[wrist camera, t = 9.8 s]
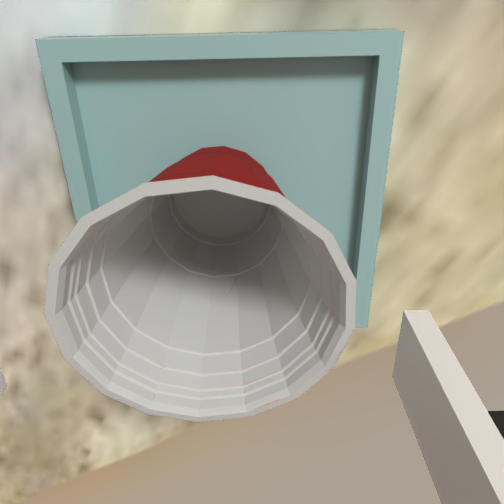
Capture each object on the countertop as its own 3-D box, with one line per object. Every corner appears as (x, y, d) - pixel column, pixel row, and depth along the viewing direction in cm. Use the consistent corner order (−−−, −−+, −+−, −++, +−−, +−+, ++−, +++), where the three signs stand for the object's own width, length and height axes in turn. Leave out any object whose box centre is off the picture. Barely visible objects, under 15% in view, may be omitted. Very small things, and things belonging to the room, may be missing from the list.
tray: (108, 314, 31) (100, 331, 29) (50, 37, 23) (35, 39, 21) (361, 310, 31) (367, 327, 29) (393, 28, 23) (404, 31, 21)
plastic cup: (215, 307, 30) (194, 473, 19) (88, 185, 26) (-26, 311, 15) (355, 209, 27) (422, 346, 16) (234, 52, 23) (217, 98, 12)
